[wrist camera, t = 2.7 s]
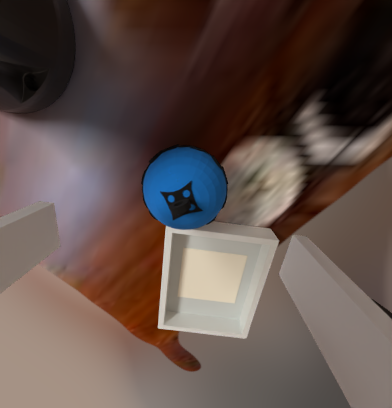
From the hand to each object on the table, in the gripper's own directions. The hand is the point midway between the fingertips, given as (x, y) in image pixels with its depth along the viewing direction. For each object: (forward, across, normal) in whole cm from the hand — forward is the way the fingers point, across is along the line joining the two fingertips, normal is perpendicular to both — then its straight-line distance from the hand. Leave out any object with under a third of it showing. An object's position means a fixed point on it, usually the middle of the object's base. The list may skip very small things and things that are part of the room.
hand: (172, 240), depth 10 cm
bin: (+14, +5, -14) cm, 20 cm away
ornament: (+14, 0, 0) cm, 14 cm away
